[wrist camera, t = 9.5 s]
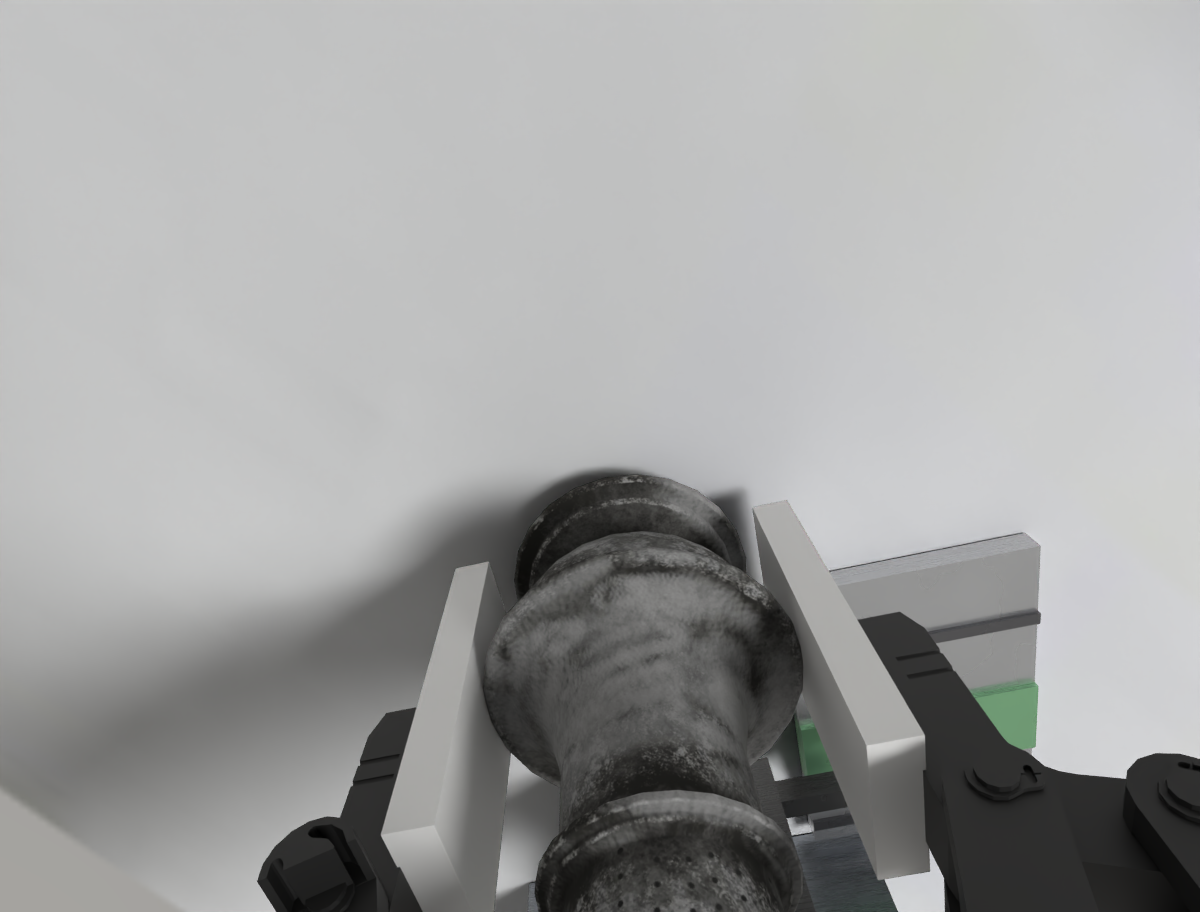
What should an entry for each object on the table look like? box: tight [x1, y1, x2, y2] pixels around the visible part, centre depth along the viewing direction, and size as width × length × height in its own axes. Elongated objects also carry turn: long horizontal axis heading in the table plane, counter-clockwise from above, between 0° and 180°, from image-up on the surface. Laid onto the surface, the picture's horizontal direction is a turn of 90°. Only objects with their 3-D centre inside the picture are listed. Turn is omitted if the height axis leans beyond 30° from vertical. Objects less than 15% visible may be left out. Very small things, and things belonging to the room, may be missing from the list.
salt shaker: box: [483, 475, 803, 912], centre depth 11 cm, size 6×6×12 cm
